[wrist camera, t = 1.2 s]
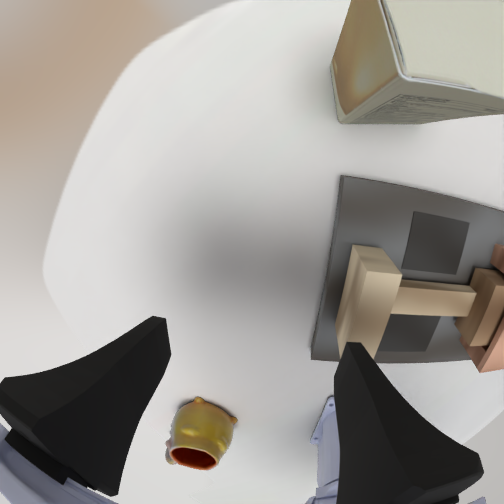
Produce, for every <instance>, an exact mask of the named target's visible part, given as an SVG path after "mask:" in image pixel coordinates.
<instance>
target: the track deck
mask: <svg viewBox="0 0 504 504" xmlns="http://www.w3.org/2000/svg"><path fill="white" fill-rule="evenodd" d="M352 245H361V246H369V247H377V248H382V249H383V250H384V252H385V253H386V254H387V255H388V257H389V258H390V259H391V260H392V262H393V263H394V264H395V266H396V267H397V268H398V270H399V271H400V272H401V274H402V278H401V279H403V280H413V281H423V282H434V283H444V284H455V285H466V286H470V283H471V280H472V277H473V274H474V271H475V268H482V269H489V270H496V271H501V272H503V273H504V212H503V211H500V210H497V209H494V208H490V207H487V206H484V205H480V204H477V203H473V202H470V201H466V200H462V199H458V198H455V197H451V196H447V195H443V194H438V193H434V192H430V191H425V190H421V189H416V188H411V187H407V186H402V185H397V184H391V183H386V182H380V181H375V180H369V179H363V178H356V177H350V176H343V175H341V177H340V186H339V195H338V203H337V210H336V218H335V225H334V231H333V238H332V244H331V250H330V256H329V262H328V268H327V274H326V279H325V284H324V289H323V295H322V300H321V304H320V309H319V314H318V319H317V323H316V328H315V332H314V336H313V341H312V345H311V360H321V361H336V362H340V354H339V347H338V341H337V335H336V329H335V322H336V318H337V314H338V310H339V306H340V302H341V298H342V293H343V289H344V284H345V280H346V275H347V270H348V266H349V261H350V255H351V250H352ZM457 317H458V316H430V315H408V314H390V317H389V319H388V322H387V325H386V328H385V331H384V333H383V336H382V339H381V341H380V344H379V347H378V349H377V352H376V354H375V356H374V359H373V360H374V361H375V363H429V362H448V361H461V360H472V361H473V363H474V364H475V366H476V368H477V369H478V371H479V373H482V372H489V371H495V370H500V369H504V317H503V319H502V321H501V324H500V326H499V328H498V330H497V332H496V334H495V336H494V338H493V340H492V342H491V344H490V345H483V346H469V345H468V344H467V342H466V341H465V339H464V338H463V336H462V335H461V333H460V332H459V330H458V329H457V328H456V326H455V325H454V324H455V322H456V319H457Z"/></svg>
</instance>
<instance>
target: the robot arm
mask: <svg viewBox="0 0 504 504" xmlns="http://www.w3.org/2000/svg"><path fill="white" fill-rule="evenodd" d="M170 357H171V350H170V343H169V337H168V330H167V323H166V318H161V317H156V316H152V317H150V318H148V319H147V320H145V321H143V322H142V323H140V324H139V325H137V326H136V327H134V328H133V329H131V330H130V331H128V332H127V333H125V334H124V335H122V336H120V337H119V338H117V339H116V340H114V341H112V342H111V343H109V344H107V345H105V346H104V347H102V348H100V349H98V350H97V351H95V352H93V353H91V354H89V355H87V356H85V357H82V358H80V359H78V360H76V361H73V362H71V363H68V364H65V365H62V366H60V367H57V368H54V369H51V370H47V371H43V372H40V373H35V374H29V375H23V376H15V377H5V378H4V379H3V380H2V382H1V383H0V414H1V415H2V417H3V418H4V419H5V420H6V421H7V423H8V424H9V425H10V426H11V427H12V429H11V430H10V432H9V431H8V430H7V429H6V428H5V427H4V426H3V425H1V424H0V492H1V493H2V494H3V495H4V496H5V497H6V499H7V500H8V501H9V502H10V503H11V504H118V503H115V502H113V501H111V500H109V499H107V498H105V497H103V496H101V495H99V494H97V493H95V492H93V491H91V490H89V489H87V487H89V488H91V489H93V490H98V491H100V492H102V493H104V494H106V495H108V496H110V497H111V496H115V495H118V491H119V486H120V482H121V477H122V473H123V469H124V465H125V461H126V458H127V454H128V451H129V448H130V445H131V442H132V439H133V437H134V433H135V431H136V429H137V426H138V423H139V421H140V419H141V417H142V414H143V412H144V411H145V409H146V407H147V405H148V403H149V401H150V399H151V398H152V396H153V394H154V392H155V390H156V388H157V387H158V385H159V383H160V381H161V379H162V377H163V375H164V373H165V370H166V368H167V365H168V363H169V360H170ZM310 443H311V444H318V469H317V483H318V486H319V488H316V496H313V497H311V498H309V499H308V501H307V502H306V503H305V504H456V503H458V502H459V496H458V494H459V493H461V492H462V491H464V490H465V489H467V488H468V487H470V486H471V485H473V484H474V483H475V482H477V481H478V480H479V479H480V478H481V477H482V475H483V474H484V470H483V467H482V464H481V460H480V457H479V454H478V453H476V452H474V451H473V450H470V449H469V448H467V447H465V446H463V445H461V444H459V443H457V442H456V441H454V440H453V439H451V438H450V437H448V436H446V435H445V434H444V433H442V432H441V431H439V430H438V429H437V428H435V427H434V426H433V425H432V424H431V423H429V422H428V421H427V420H426V419H425V418H423V417H422V416H421V415H420V414H419V413H418V412H417V411H416V410H415V409H414V408H413V407H412V406H411V405H410V404H409V403H408V402H407V401H406V400H405V399H404V398H403V397H402V396H401V394H400V393H399V392H398V391H397V390H396V389H395V387H394V386H393V385H392V384H391V383H390V381H389V380H388V379H387V377H386V376H385V375H384V373H383V372H382V371H381V369H380V368H379V367H378V365H377V364H376V363H375V361H374V360H373V358H372V357H371V356H370V354H369V353H368V351H367V350H366V349H365V347H364V346H363V344H362V343H361V342H346V345H345V348H344V350H343V353H342V356H341V359H340V362H339V365H338V367H337V370H336V373H335V375H334V397H330V398H329V399H328V400H327V403H326V405H325V408H324V410H323V412H322V415H321V417H320V419H319V422H318V424H317V426H316V428H315V431H314V433H313V435H312V437H311V439H310ZM468 504H486V500H485V497H481V498H479V499H477V500H475V501H473V502H471V503H468Z"/></svg>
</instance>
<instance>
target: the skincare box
mask: <svg viewBox="0 0 504 504" xmlns="http://www.w3.org/2000/svg"><path fill="white" fill-rule="evenodd" d="M330 69H331V76H332V83H333V90H334V96H335V103H336V109H337V116H338V120H339V122H340V123H341V124H424V123H430V122H437V121H443V120H450V119H458V118H466V117H475V116H486V115H498V114H504V0H351V3H350V6H349V9H348V13H347V16H346V19H345V22H344V25H343V28H342V31H341V34H340V37H339V40H338V44H337V47H336V50H335V53H334V56H333V59H332V62H331V65H330Z"/></svg>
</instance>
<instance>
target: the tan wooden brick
mask: <svg viewBox="0 0 504 504" xmlns="http://www.w3.org/2000/svg"><path fill="white" fill-rule="evenodd" d="M401 278H402V274H401V272H400V271H399V270H398V268H397V267H396V266H395V264H394V263H393V262H392V260H391V259H390V258H389V257H388V255H387V254H386V253H385V252H384V250H383V249H382V248H377V247H369V246H361V245H352V250H351V255H350V261H349V266H348V270H347V275H346V280H345V284H344V289H343V293H342V298H341V302H340V306H339V310H338V314H337V318H336V322H335V329H336V335H337V341H338V347H339V354H340V359H341V356H342V353H343V350H344V348H345V345H346V342H361V343H362V344H363V346H364V347H365V349H366V350H367V351H368V353H369V354H370V356H371V357H372V358H373V359H374V356H375V354H376V352H377V349H378V347H379V344H380V341H381V339H382V336H383V333H384V331H385V328H386V325H387V322H388V319H389V317H390V314H408V315H430V316H458V317H457V319H456V322H455V324H454V325H455V326H456V328H457V329H458V330H459V332H460V333H461V335H462V336H463V338H464V339H465V341H466V342H467V344H468V345H469V346H483V345H490V344H491V342H492V340H493V338H494V336H495V334H496V332H497V330H498V328H499V326H500V324H501V321H502V319H503V317H504V273H503V272H501V271H496V270H489V269H482V268H475V271H474V274H473V277H472V280H471V283H470V286H466V285H455V284H444V283H434V282H423V281H413V280H403V279H401Z"/></svg>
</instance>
